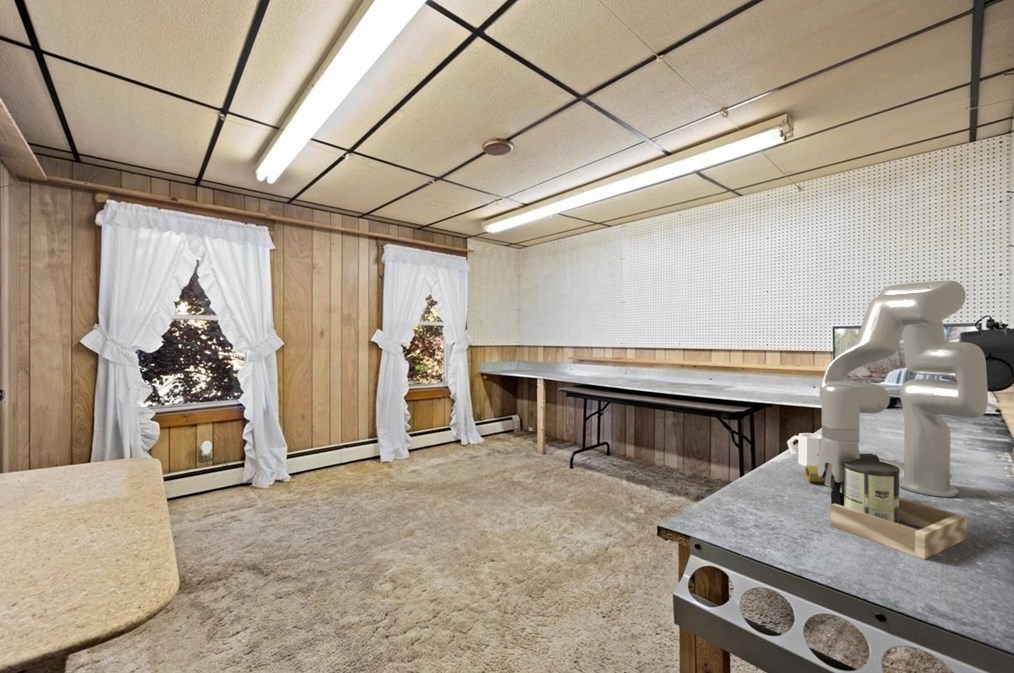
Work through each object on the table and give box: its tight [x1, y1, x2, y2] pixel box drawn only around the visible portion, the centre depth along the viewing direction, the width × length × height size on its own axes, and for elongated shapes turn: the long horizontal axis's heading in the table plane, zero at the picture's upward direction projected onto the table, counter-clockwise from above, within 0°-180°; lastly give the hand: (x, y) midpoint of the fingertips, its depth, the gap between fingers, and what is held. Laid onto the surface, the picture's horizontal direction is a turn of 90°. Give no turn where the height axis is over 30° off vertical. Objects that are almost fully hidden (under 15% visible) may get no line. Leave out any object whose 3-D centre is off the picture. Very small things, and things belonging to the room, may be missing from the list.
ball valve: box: [804, 453, 826, 483], centre depth 130 cm, size 13×10×10 cm
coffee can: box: [844, 459, 901, 524], centre depth 103 cm, size 10×10×14 cm
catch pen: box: [830, 497, 968, 560], centre depth 99 cm, size 19×17×5 cm
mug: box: [786, 432, 822, 467], centre depth 150 cm, size 12×9×10 cm
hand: (840, 506), depth 109 cm, fingers closed
